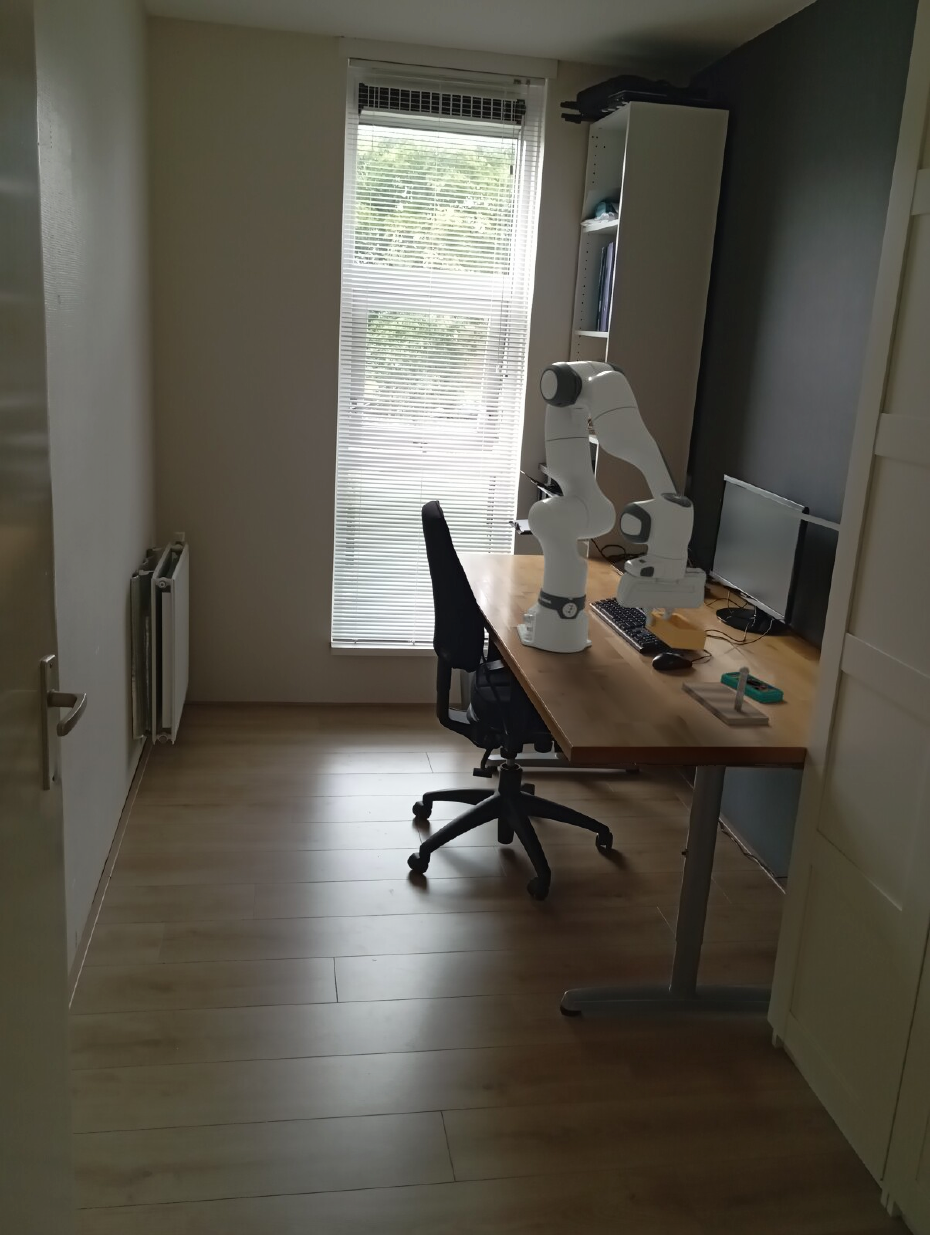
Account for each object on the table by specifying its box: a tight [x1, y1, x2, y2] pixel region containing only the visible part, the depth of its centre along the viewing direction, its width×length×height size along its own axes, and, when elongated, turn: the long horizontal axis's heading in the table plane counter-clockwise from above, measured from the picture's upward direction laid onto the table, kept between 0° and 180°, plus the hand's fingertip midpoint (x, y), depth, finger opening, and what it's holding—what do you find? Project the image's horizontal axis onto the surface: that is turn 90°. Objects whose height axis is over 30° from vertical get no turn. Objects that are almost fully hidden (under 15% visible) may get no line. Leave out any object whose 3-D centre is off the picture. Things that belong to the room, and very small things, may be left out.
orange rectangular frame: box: [645, 610, 708, 651], centre depth 229 cm, size 14×8×4 cm, turn 15°
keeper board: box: [681, 665, 770, 726], centre depth 230 cm, size 22×10×12 cm, turn 15°
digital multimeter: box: [720, 671, 785, 703], centre depth 243 cm, size 7×15×3 cm, turn 27°
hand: (655, 625), depth 231 cm, fingers closed on orange rectangular frame
